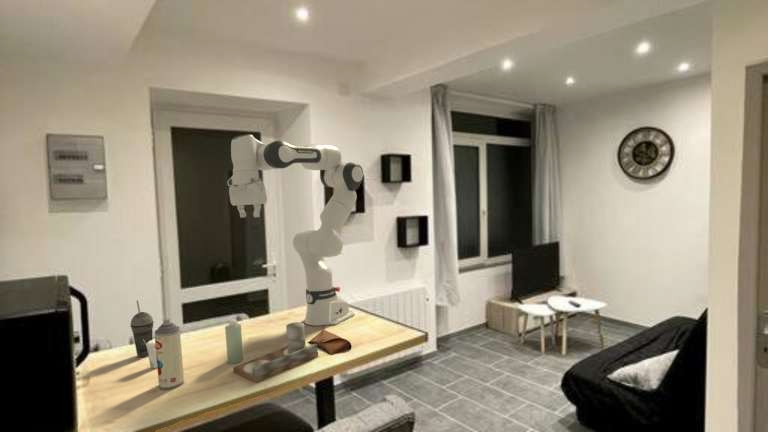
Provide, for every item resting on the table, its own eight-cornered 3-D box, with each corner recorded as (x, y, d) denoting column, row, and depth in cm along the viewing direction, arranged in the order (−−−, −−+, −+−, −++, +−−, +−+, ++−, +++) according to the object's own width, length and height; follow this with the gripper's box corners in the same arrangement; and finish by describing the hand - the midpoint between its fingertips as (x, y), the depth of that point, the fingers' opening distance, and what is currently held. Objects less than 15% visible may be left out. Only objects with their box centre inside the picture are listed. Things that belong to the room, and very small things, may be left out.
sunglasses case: (305, 342, 158) (312, 324, 160) (319, 346, 163) (326, 329, 164) (332, 355, 145) (339, 336, 146) (347, 360, 149) (354, 342, 151)
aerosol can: (157, 383, 129) (151, 319, 127) (181, 377, 133) (176, 314, 131) (160, 392, 123) (155, 324, 122) (186, 384, 127) (181, 319, 126)
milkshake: (146, 366, 142) (143, 337, 142) (164, 362, 145) (161, 334, 144) (144, 371, 138) (142, 341, 138) (163, 367, 140) (160, 338, 140)
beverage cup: (146, 359, 148) (141, 303, 146) (128, 359, 149) (123, 303, 148) (161, 351, 155) (156, 297, 153) (143, 350, 156) (139, 297, 155)
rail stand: (295, 347, 154) (294, 318, 153) (319, 355, 145) (317, 325, 144) (233, 371, 135) (231, 338, 134) (256, 382, 127) (254, 347, 126)
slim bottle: (238, 356, 147) (235, 317, 146) (246, 359, 144) (243, 319, 143) (224, 361, 144) (221, 320, 143) (232, 365, 140) (229, 323, 139)
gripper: (269, 177, 150) (273, 216, 151) (240, 181, 164) (243, 216, 165) (253, 177, 145) (257, 217, 146) (224, 181, 159) (228, 218, 160)
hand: (249, 217), depth 156 cm, fingers open, 8 cm apart
